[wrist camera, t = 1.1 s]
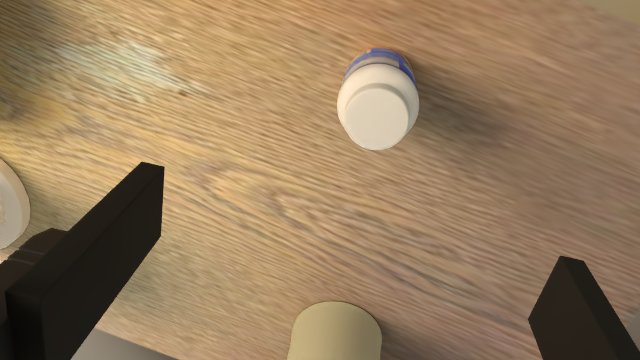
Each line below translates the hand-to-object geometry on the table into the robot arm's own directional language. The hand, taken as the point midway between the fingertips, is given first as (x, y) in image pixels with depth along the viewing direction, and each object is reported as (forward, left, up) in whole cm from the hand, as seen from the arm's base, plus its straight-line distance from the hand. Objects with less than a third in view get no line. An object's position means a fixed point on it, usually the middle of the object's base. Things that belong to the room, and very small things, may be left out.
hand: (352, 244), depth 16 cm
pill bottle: (0, +1, -25) cm, 25 cm away
